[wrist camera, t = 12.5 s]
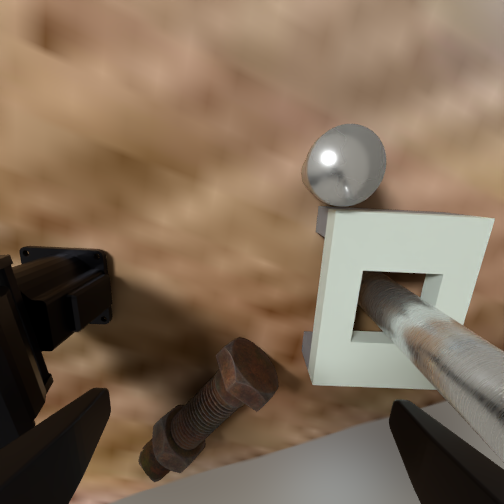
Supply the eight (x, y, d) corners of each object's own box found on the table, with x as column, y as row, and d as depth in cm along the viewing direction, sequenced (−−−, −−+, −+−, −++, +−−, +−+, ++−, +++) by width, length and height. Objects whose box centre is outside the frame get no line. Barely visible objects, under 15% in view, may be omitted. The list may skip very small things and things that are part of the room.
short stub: (290, 200, 19) (303, 204, 14) (296, 139, 18) (312, 121, 13) (347, 203, 19) (378, 208, 14) (356, 142, 18) (392, 126, 13)
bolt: (160, 420, 27) (249, 330, 23) (186, 466, 25) (286, 375, 22) (111, 458, 21) (217, 348, 18) (140, 519, 20) (263, 410, 16)
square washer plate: (301, 350, 22) (312, 384, 18) (318, 206, 19) (336, 210, 15) (410, 355, 22) (443, 390, 19) (445, 212, 19) (495, 218, 15)
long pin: (331, 296, 21) (537, 573, 6) (360, 252, 20) (697, 450, 5) (374, 318, 21) (661, 621, 6) (404, 276, 20) (826, 519, 5)
